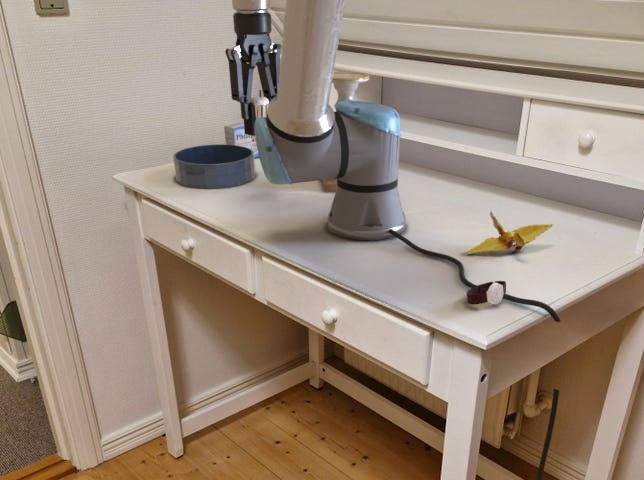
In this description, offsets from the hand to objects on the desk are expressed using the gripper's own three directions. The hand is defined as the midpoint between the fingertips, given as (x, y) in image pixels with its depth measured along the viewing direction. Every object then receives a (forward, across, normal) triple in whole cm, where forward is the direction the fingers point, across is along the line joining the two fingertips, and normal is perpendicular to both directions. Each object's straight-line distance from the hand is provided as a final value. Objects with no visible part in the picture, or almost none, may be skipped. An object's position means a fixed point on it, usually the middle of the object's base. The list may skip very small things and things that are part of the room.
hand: (259, 132), depth 146 cm
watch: (+13, +15, +67) cm, 70 cm away
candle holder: (+13, -17, +10) cm, 24 cm away
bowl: (+13, -1, -18) cm, 22 cm away
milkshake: (+2, 0, 0) cm, 2 cm away
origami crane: (+13, -6, +59) cm, 61 cm away
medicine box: (+13, -17, -26) cm, 34 cm away
